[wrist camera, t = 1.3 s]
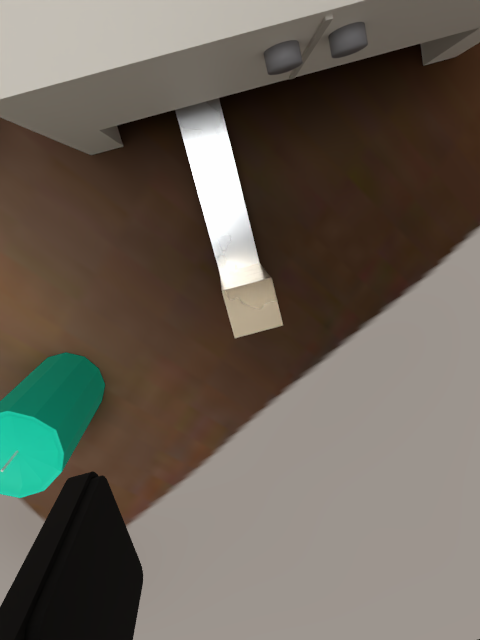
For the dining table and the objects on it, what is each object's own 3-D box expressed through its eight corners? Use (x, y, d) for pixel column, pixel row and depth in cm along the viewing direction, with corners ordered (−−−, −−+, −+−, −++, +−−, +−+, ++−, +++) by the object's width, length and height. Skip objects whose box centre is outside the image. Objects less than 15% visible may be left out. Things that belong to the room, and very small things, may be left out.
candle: (61, 429, 37) (-7, 530, 25) (18, 374, 35) (-76, 456, 24) (119, 396, 37) (75, 484, 25) (77, 339, 35) (11, 405, 23)
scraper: (286, 286, 35) (315, 316, 25) (205, 308, 35) (202, 346, 25) (227, 30, 30) (235, -54, 20) (132, 56, 30) (94, -15, 20)
